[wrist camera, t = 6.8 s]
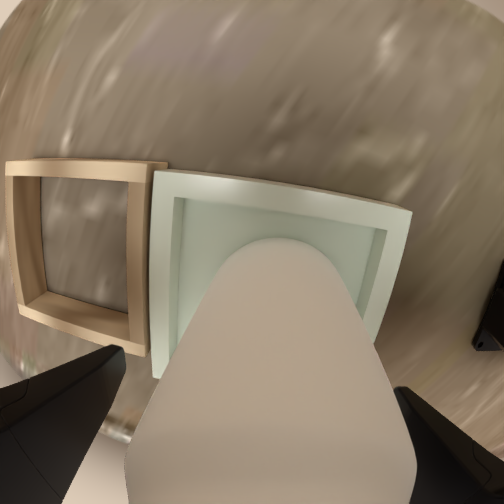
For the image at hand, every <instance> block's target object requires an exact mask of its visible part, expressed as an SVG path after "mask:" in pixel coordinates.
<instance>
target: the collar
mask: <svg viewBox="0 0 504 504" xmlns="http://www.w3.org/2000/svg"><path fill="white" fill-rule="evenodd" d="M166 169H168V163H167V162H154V161H138V160H119V159H88V158H37V159H24V160H15V161H7V162H6V171H5V202H6V223H7V236H8V246H9V255H10V263H11V270H12V276H13V282H14V288H15V293H16V298H17V303H18V307H19V312H20V314H21V315H24V316H26V317H28V318H31V319H33V320H35V321H38V322H40V323H43V324H45V325H48V326H50V327H53V328H55V329H58V330H61V331H63V332H66V333H69V334H71V335H74V336H77V337H80V338H83V339H86V340H89V341H92V342H95V343H98V344H101V345H104V346H108V345H110V344H115V345H118V346H121V347H123V349H124V352H127V353H130V354H134V355H138V356H141V357H146V356H147V354H148V352H149V351H150V349H151V338H150V309H149V256H150V227H151V208H152V194H153V181H154V171H158V170H166ZM41 176H46V177H69V178H87V179H102V180H116V181H128V182H129V183H128V200H127V227H126V274H127V301H128V314H126V313H122V312H118V311H114V310H111V309H107V308H103V307H100V306H96V305H92V304H89V303H85V302H82V301H79V300H75V299H72V298H69V297H65V296H62V295H59V294H56V293H53V292H49V291H47V285H46V277H45V269H44V260H43V249H42V236H41V214H40V178H41Z"/></svg>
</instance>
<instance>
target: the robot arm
mask: <svg viewBox="0 0 504 504" xmlns="http://www.w3.org/2000/svg"><path fill="white" fill-rule="evenodd" d="M472 346H473V348H474V349H475V350H476V351H497V350H503V351H504V263H503V266H502V269H501V272H500V275H499V278H498V281H497V284H496V287H495V290H494V293H493V296H492V298H491V301H490V304H489V306H488V309H487V311H486V314H485V316H484V318H483V321H482V323H481V325H480V328H479V330H478V332H477V334H476V337H475V339H474V341H473V344H472ZM125 371H126V361H125V353H124V349H123V347H121V346H118V345H115V344H110V345H108V346H105V347H103V348H101V349H98V350H96V351H94V352H91V353H89V354H87V355H84V356H82V357H79V358H77V359H75V360H72V361H70V362H67V363H65V364H63V365H60V366H58V367H55V368H53V369H50V370H48V371H45V372H43V373H41V374H38V375H36V376H33V377H31V378H30V379H25V380H23V381H20V382H18V383H15V384H12V385H9V386H6V387H3V388H0V504H61V503H62V502H63V499H64V497H65V495H66V493H67V491H68V489H69V487H70V485H71V483H72V480H73V479H74V477H75V475H76V473H77V471H78V469H79V467H80V465H81V463H82V461H83V459H84V457H85V455H86V453H87V451H88V449H89V447H90V446H91V444H92V442H93V440H94V438H95V436H96V434H97V432H98V430H99V429H100V427H101V425H102V423H103V421H104V419H105V417H106V416H107V414H108V412H109V410H110V408H111V406H112V404H113V401H114V399H115V396H116V394H117V391H118V389H119V386H120V384H121V381H122V379H123V376H124V374H125ZM393 392H394V394H395V397H396V399H397V402H398V405H399V407H400V410H401V412H402V415H403V418H404V421H405V423H406V426H407V429H408V432H409V435H410V438H411V441H412V444H413V448H414V451H415V456H416V461H417V472H416V479H415V483H414V487H413V491H412V495H411V498H410V502H409V504H504V461H502V460H501V459H499V458H498V457H496V456H495V455H493V454H492V453H490V452H489V451H487V450H486V449H485V448H483V447H482V446H481V445H480V444H478V443H477V442H476V441H475V440H473V439H472V438H471V437H469V436H468V435H467V434H466V433H464V432H463V431H462V430H461V429H459V428H458V427H457V426H456V425H454V424H453V423H452V422H451V421H449V420H448V419H447V418H446V417H444V416H443V415H442V414H441V413H439V412H438V411H437V410H436V409H434V408H433V407H432V406H431V405H429V404H428V403H427V402H426V401H424V400H423V399H422V398H421V397H419V396H418V395H417V394H416V393H414V392H413V391H412V390H411V389H409V388H408V387H406V386H398V387H396V388H395V389H394V390H393Z"/></svg>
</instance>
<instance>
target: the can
mask: <svg viewBox="0 0 504 504" xmlns="http://www.w3.org/2000/svg"><path fill="white" fill-rule="evenodd" d="M416 472H417V461H416V456H415V451H414V448H413V444H412V441H411V438H410V435H409V432H408V429H407V426H406V423H405V421H404V418H403V415H402V412H401V410H400V407H399V405H398V402H397V399H396V397H395V394H394V392H393V389H392V387H391V385H390V382H389V380H388V377H387V375H386V372H385V370H384V368H383V365H382V363H381V361H380V358H379V356H378V354H377V352H376V349H375V347H374V345H373V343H372V340H371V338H370V336H369V334H368V332H367V329H366V327H365V325H364V323H363V321H362V319H361V317H360V315H359V313H358V310H357V308H356V306H355V304H354V302H353V300H352V298H351V296H350V294H349V292H348V290H347V288H346V286H345V284H344V282H343V280H342V278H341V277H340V275H339V273H338V271H337V270H336V268H335V266H334V265H333V264H332V262H331V261H330V260H329V259H328V258H327V257H326V256H325V255H324V254H323V253H322V252H320V251H319V250H317V249H316V248H314V247H313V246H311V245H309V244H306V243H304V242H301V241H298V240H294V239H289V238H266V239H261V240H257V241H254V242H252V243H249V244H247V245H245V246H243V247H241V248H240V249H238V250H237V251H235V252H234V253H233V254H231V255H230V256H229V257H228V258H227V259H226V260H225V262H224V263H223V264H222V265H221V267H220V268H219V270H218V271H217V273H216V275H215V277H214V278H213V280H212V282H211V284H210V285H209V287H208V289H207V291H206V293H205V295H204V296H203V298H202V300H201V302H200V304H199V306H198V308H197V309H196V311H195V313H194V315H193V317H192V319H191V321H190V323H189V324H188V326H187V328H186V330H185V332H184V334H183V336H182V338H181V340H180V342H179V343H178V345H177V347H176V349H175V351H174V353H173V355H172V357H171V359H170V361H169V363H168V365H167V367H166V369H165V371H164V373H163V375H162V377H161V379H160V381H159V382H158V384H157V386H156V388H155V390H154V392H153V394H152V396H151V398H150V401H149V403H148V405H147V407H146V409H145V411H144V413H143V415H142V417H141V419H140V421H139V423H138V425H137V428H136V430H135V432H134V434H133V437H132V439H131V441H130V444H129V446H128V449H127V453H126V456H125V479H126V486H127V492H128V499H129V504H409V502H410V498H411V495H412V491H413V487H414V483H415V479H416Z"/></svg>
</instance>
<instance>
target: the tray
mask: <svg viewBox="0 0 504 504" xmlns="http://www.w3.org/2000/svg"><path fill="white" fill-rule="evenodd" d="M412 213H413V212H412V211H409V210H407V209H405V208H402V207H400V206H398V205H395V204H391V203H387V202H382V201H378V200H373V199H368V198H364V197H359V196H354V195H349V194H344V193H339V192H333V191H328V190H323V189H317V188H312V187H306V186H300V185H294V184H288V183H281V182H275V181H268V180H261V179H254V178H247V177H240V176H232V175H224V174H215V173H207V172H197V171H187V170H177V169H166V170H158V171H154V181H153V194H152V208H151V227H150V256H149V309H150V338H151V356H152V371H153V377H155V378H158V379H161V377H162V375H163V373H164V371H165V369H166V367H167V365H168V363H169V361H170V359H171V357H172V355H173V353H174V351H175V349H176V347H177V345H178V343H179V342H180V340H181V338H182V336H183V334H184V332H185V330H186V328H187V326H188V324H189V323H190V321H191V319H192V317H193V315H194V313H195V311H196V309H197V308H198V306H199V304H200V302H201V300H202V298H203V296H204V295H205V293H206V291H207V289H208V287H209V285H210V284H211V282H212V280H213V278H214V277H215V275H216V273H217V271H218V270H219V268H220V267H221V265H222V264H223V263H224V262H225V260H226V259H227V258H228V257H229V256H230V255H231V254H233V253H234V252H235V251H237V250H238V249H240V248H241V247H243V246H245V245H247V244H249V243H252V242H254V241H257V240H261V239H266V238H289V239H294V240H298V241H301V242H304V243H306V244H309V245H311V246H313V247H314V248H316V249H317V250H319V251H320V252H322V253H323V254H324V255H325V256H326V257H327V258H328V259H329V260H330V261H331V262H332V264H333V265H334V266H335V268H336V270H337V271H338V273H339V275H340V277H341V278H342V280H343V282H344V284H345V286H346V288H347V290H348V292H349V294H350V296H351V298H352V300H353V302H354V304H355V306H356V308H357V310H358V313H359V315H360V317H361V319H362V321H363V323H364V325H365V327H366V329H367V332H368V334H369V336H370V338H371V340H372V343H373V344H374V341H375V339H376V336H377V333H378V330H379V328H380V325H381V322H382V319H383V316H384V314H385V311H386V308H387V305H388V302H389V299H390V295H391V292H392V289H393V286H394V283H395V279H396V276H397V272H398V269H399V265H400V262H401V258H402V254H403V251H404V247H405V243H406V239H407V235H408V230H409V226H410V222H411V217H412Z"/></svg>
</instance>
